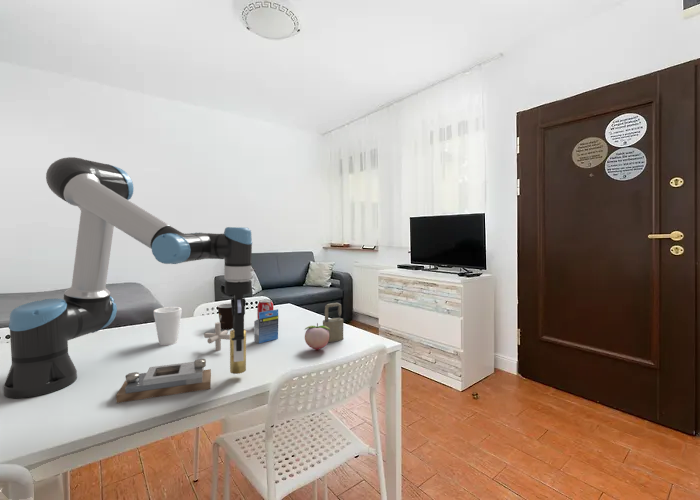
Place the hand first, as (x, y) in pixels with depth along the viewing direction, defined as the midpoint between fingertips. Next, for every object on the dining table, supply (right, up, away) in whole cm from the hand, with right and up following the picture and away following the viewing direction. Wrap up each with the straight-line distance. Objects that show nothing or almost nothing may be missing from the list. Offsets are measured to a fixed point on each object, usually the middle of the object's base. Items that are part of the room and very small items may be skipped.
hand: (238, 357), depth 100 cm
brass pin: (0, -4, 0) cm, 4 cm away
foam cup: (-37, -4, +31) cm, 48 cm away
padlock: (+26, -4, +35) cm, 44 cm away
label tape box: (0, -4, +34) cm, 35 cm away
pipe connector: (-15, -5, +23) cm, 28 cm away
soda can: (-5, -3, +53) cm, 53 cm away
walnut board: (-17, -6, -7) cm, 20 cm away
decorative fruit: (+21, -5, +23) cm, 32 cm away
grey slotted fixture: (-17, -4, -7) cm, 19 cm away
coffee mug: (-21, -3, +50) cm, 54 cm away
